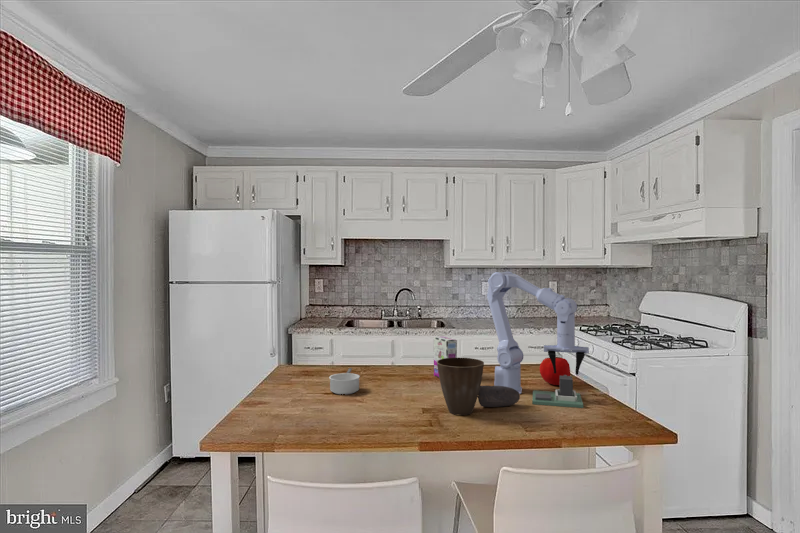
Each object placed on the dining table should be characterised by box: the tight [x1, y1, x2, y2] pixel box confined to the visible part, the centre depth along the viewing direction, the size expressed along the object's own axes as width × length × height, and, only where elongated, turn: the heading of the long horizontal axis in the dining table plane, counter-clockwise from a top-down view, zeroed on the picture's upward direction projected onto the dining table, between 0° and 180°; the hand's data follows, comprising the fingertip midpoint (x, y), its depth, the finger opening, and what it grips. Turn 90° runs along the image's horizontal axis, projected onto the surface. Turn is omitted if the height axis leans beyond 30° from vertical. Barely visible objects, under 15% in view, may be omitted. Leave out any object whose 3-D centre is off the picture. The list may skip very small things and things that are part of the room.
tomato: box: [539, 356, 571, 386], centre depth 187 cm, size 12×12×11 cm
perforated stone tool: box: [477, 385, 521, 408], centre depth 160 cm, size 15×5×7 cm, turn 96°
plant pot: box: [437, 357, 485, 416], centre depth 154 cm, size 15×15×16 cm
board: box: [531, 388, 584, 409], centre depth 166 cm, size 16×14×2 cm
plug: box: [559, 375, 574, 396], centre depth 166 cm, size 4×6×7 cm, turn 164°
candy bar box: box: [433, 336, 458, 378], centre depth 198 cm, size 11×5×16 cm, turn 25°
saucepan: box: [328, 367, 361, 396], centre depth 183 cm, size 12×20×6 cm, turn 177°
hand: (565, 373), depth 165 cm, fingers open, 6 cm apart
